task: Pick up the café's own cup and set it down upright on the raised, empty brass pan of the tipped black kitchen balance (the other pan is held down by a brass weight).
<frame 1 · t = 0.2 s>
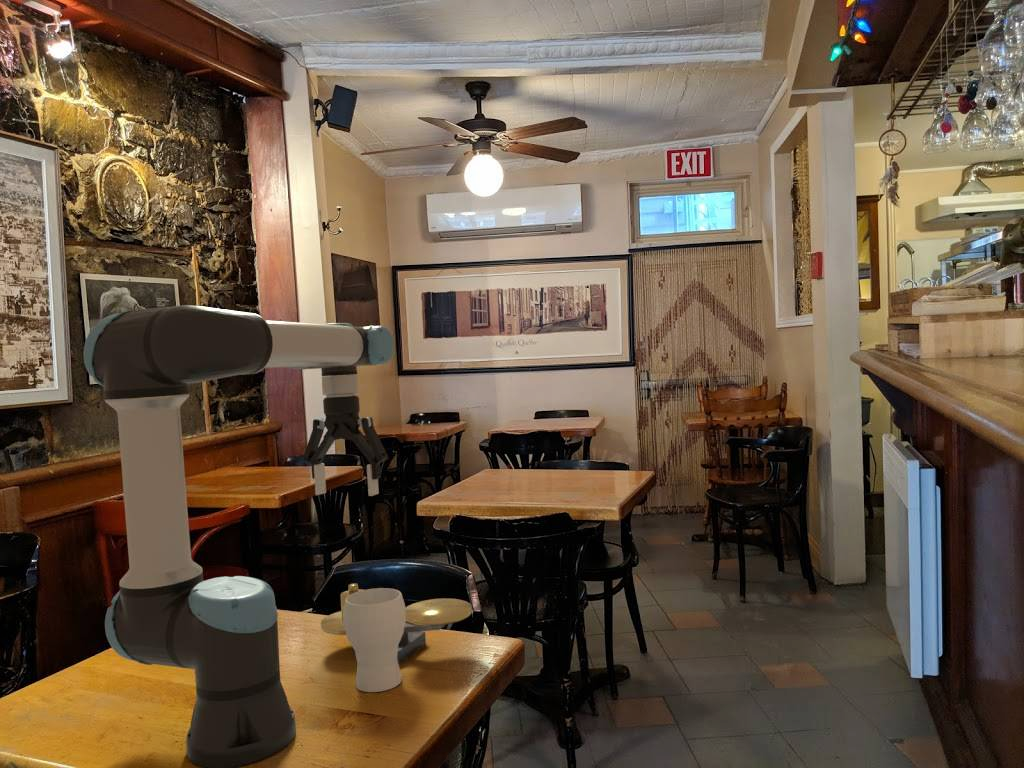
hand: (346, 494, 158), 28 cm above the table, fingers open, 13 cm apart
cup: (378, 684, 127), on the table
balance: (397, 652, 140), on the table
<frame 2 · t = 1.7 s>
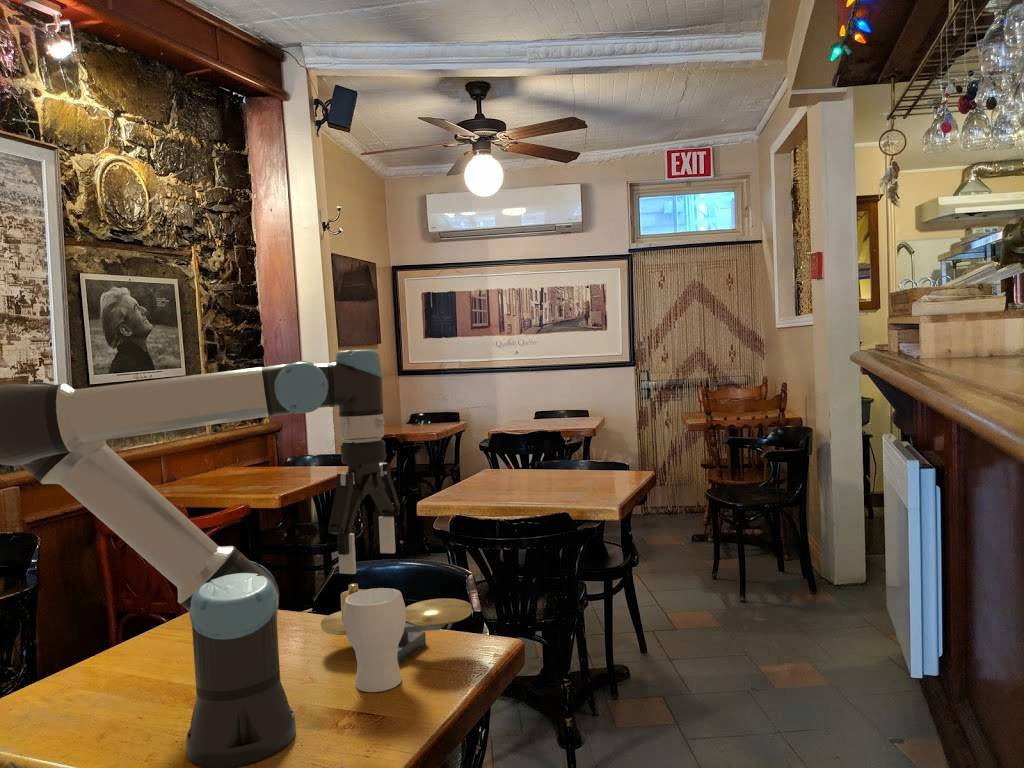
hand: (368, 562, 127), 21 cm above the table, fingers open, 13 cm apart
nothing on the table moved.
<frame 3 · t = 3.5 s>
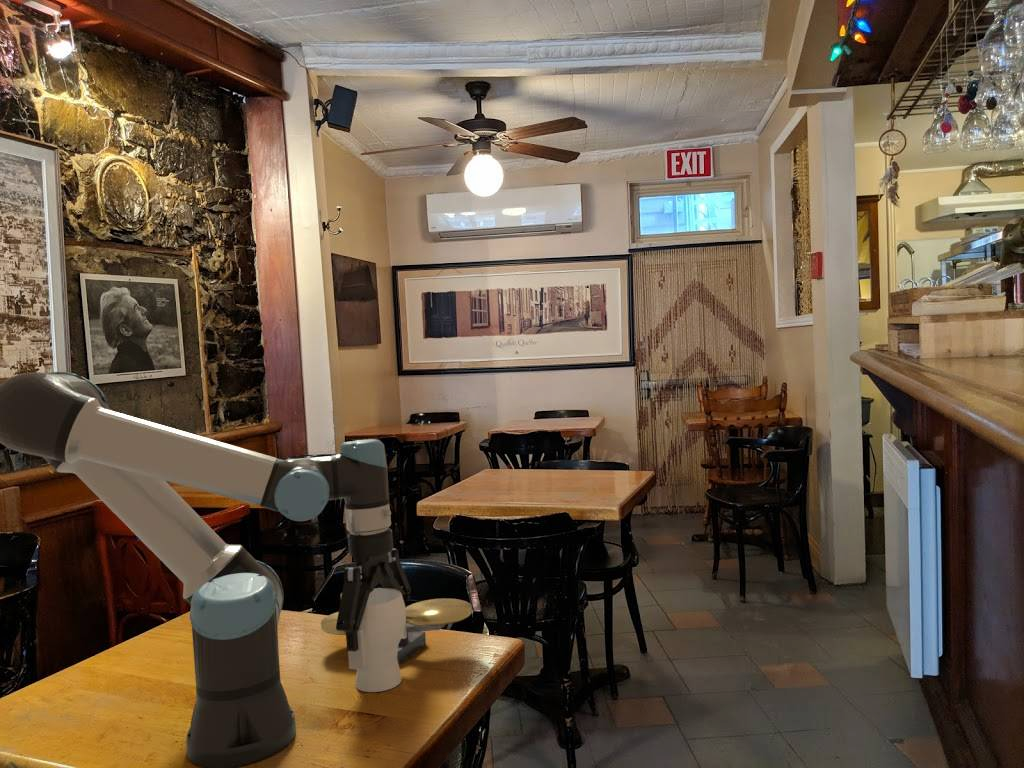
hand: (379, 653, 126), 5 cm above the table, fingers open, 13 cm apart
nothing on the table moved.
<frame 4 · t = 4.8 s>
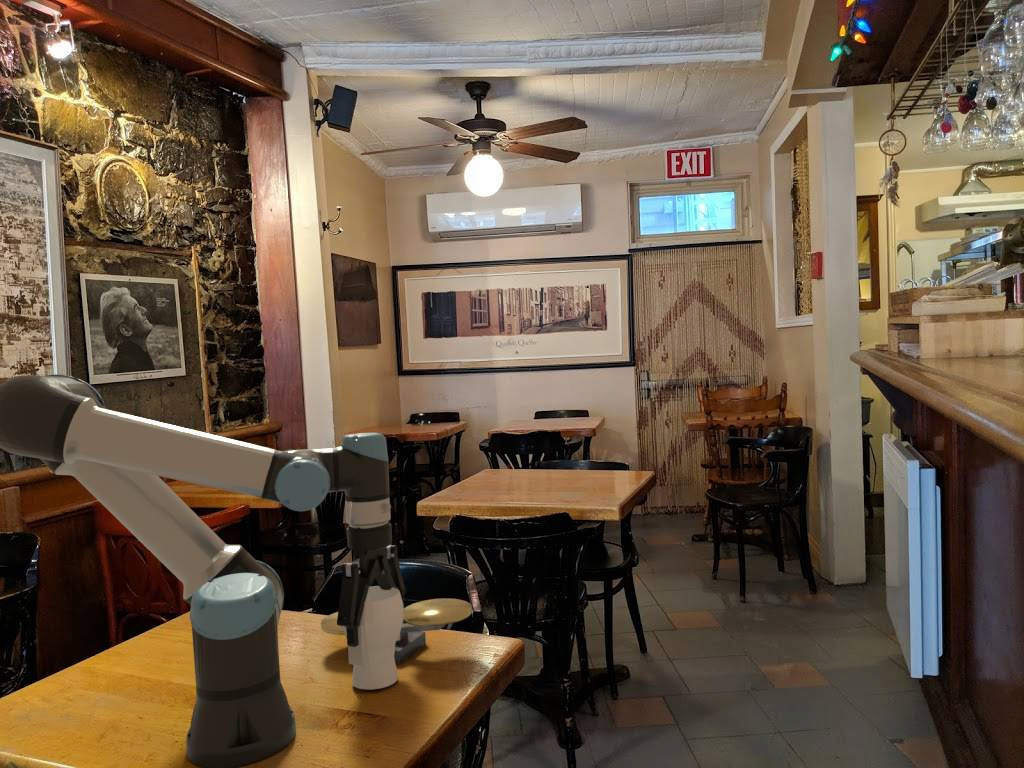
hand: (375, 651, 126), 6 cm above the table, fingers closed on cup, 11 cm apart
cup: (375, 682, 126), on the table, touching gripper
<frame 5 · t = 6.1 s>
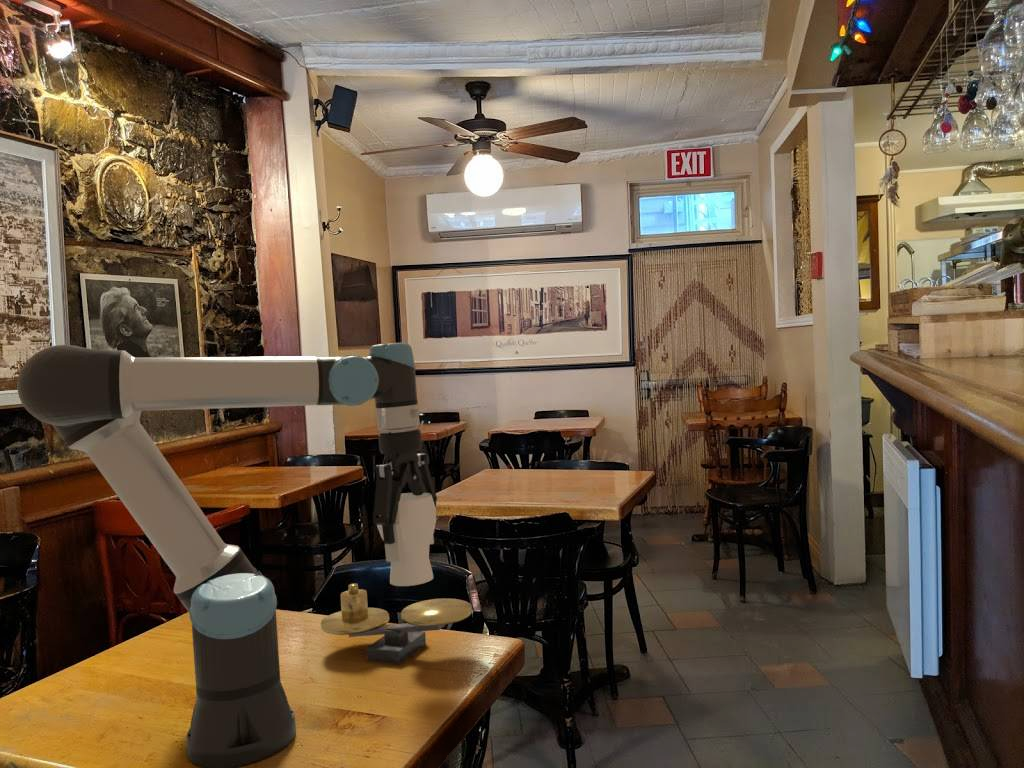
hand: (411, 552, 132), 21 cm above the table, fingers closed on cup, 11 cm apart
cup: (411, 581, 132), point 16 cm above the table, touching gripper
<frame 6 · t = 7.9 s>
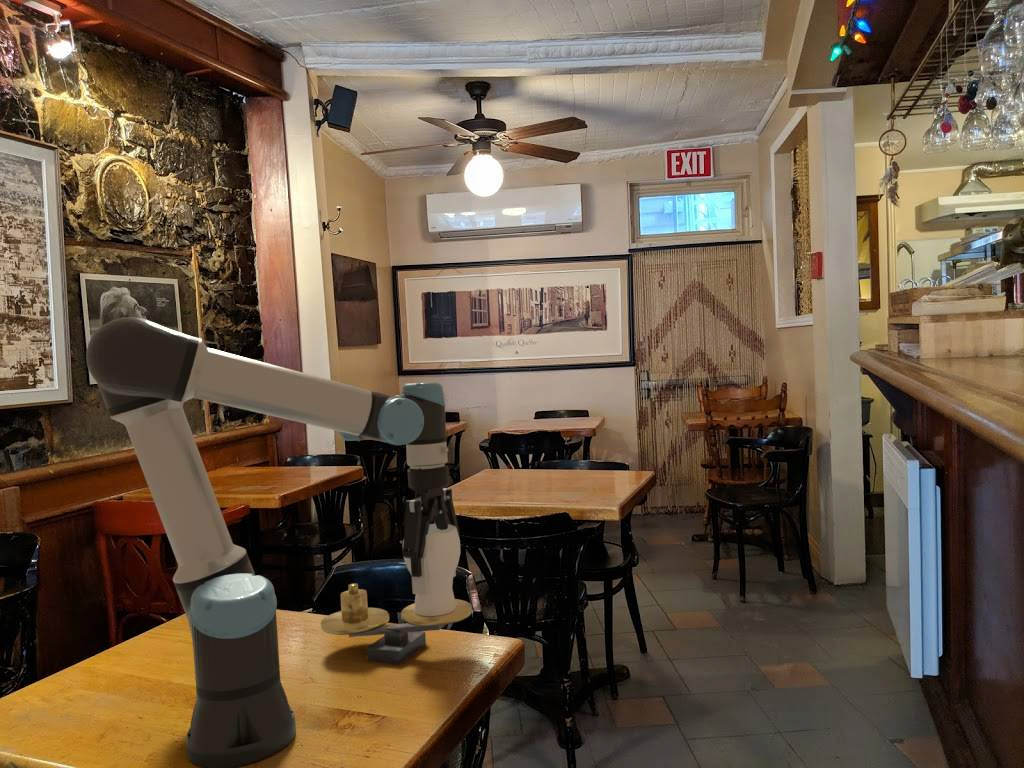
hand: (435, 584, 136), 14 cm above the table, fingers closed on cup, 11 cm apart
cup: (435, 610, 136), point 9 cm above the table, touching balance, gripper
when the fingers open (14 cm above the table, at t = 8.2 s): cup stays where it is, resting on balance.
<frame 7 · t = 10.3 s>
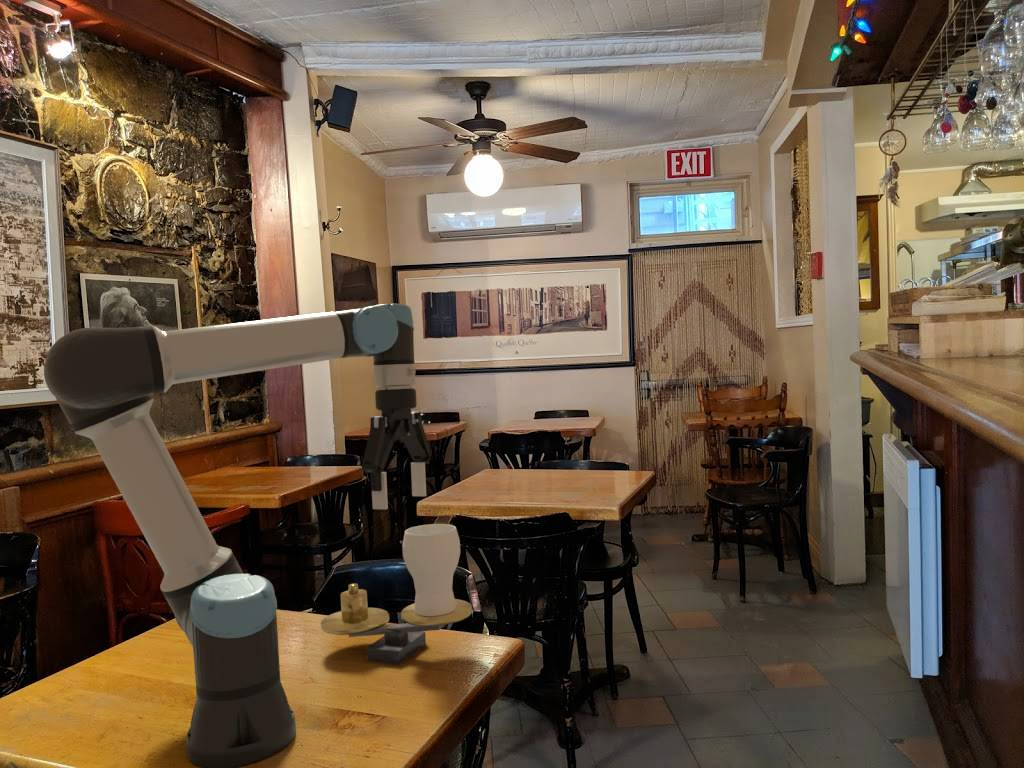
hand: (400, 502, 137), 29 cm above the table, fingers open, 13 cm apart
cup: (435, 610, 136), point 9 cm above the table, touching balance
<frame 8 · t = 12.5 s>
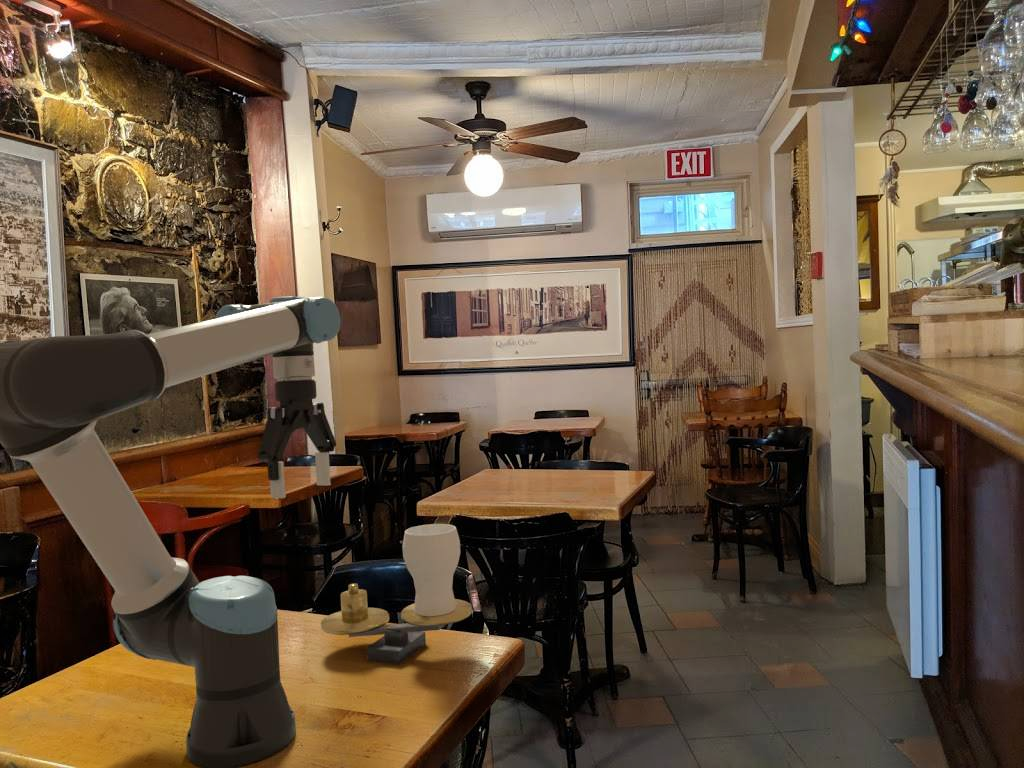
hand: (302, 491, 139), 32 cm above the table, fingers open, 13 cm apart
nothing on the table moved.
at the end: cup inside the target area on the balance (0.3 cm from its centre), point 8.6 cm above the balance's base; cup tilted 0°; the gripper is holding nothing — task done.
